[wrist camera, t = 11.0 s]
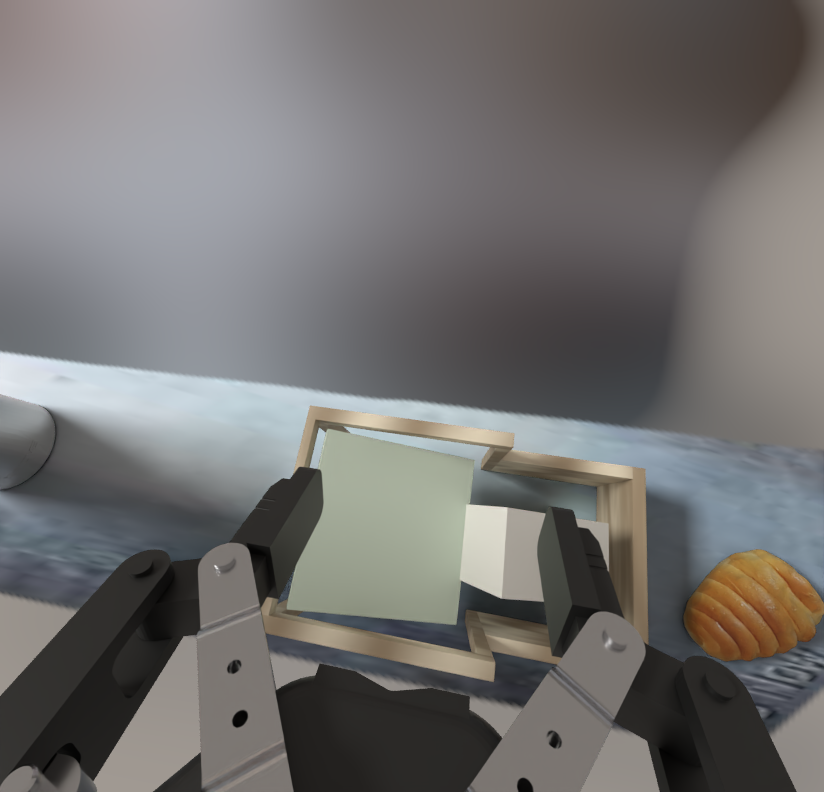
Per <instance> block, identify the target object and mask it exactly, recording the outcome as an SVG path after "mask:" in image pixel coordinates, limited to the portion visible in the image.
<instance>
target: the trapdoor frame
mask: <svg viewBox="0 0 824 792" xmlns="http://www.w3.org/2000/svg"><path fill="white" fill-rule="evenodd" d="M343 426H345V427H352V428H359V429H367V430H374V431H381V432H388V433H395V434H402V435H409V436H416V437H423V438H430V439H437V440H444V441H451V442H458V443H465V444H472V445H479V446H486V447H490V448H489V450H488V451H487V453H486V454H485V456H484V458H483V459H482V464H481V470H488V471H495V472H502V473H508V474H515V475H522V476H528V477H535V478H542V479H549V480H555V481H562V482H569V483H575V484H582V485H589V486H595V487H597V516H596V522H602V523H608V524H609V574H610V577H611V580H612V583H613V586H614V589H615V592H616V595H617V598H618V601H619V604H620V607H621V610H622V613H623V616H624V618H625V620H626V621H628V622H629V623H630V624H631V625H632V626H633V627H634V628H635V629H636V630H637V631H638V633H639V634H640V636H641V637H642V640H643V641H644V642H645V643H646V644H648V591H647V535H646V478H645V469H643V468H636V467H629V466H622V465H615V464H608V463H601V462H594V461H587V460H580V459H573V458H566V457H559V456H552V455H545V454H537V453H530V452H523V451H516V450H511V449H512V448H513V445H514V433H507V432H500V431H492V430H485V429H478V428H470V427H463V426H456V425H448V424H441V423H434V422H427V421H419V420H412V419H405V418H397V417H390V416H383V415H375V414H368V413H361V412H353V411H346V410H339V409H331V408H324V407H317V406H310V408H309V412H308V416H307V420H306V424H305V428H304V432H303V436H302V440H301V445H300V449H299V453H298V457H297V461H296V465H295V469H294V473H295V471H296V470H297V469H298V468H299V467H307V468H309V467H310V463H311V459H312V454H313V450H314V446H315V442H316V437H317V433H318V429H319V428H321V429H322V430H324V431H325V432H326V431H327V429H332V430H337V431H341V432H346V433H350V432H349V431H348V430H346V429H345V428H344V427H343ZM350 434H351V433H350ZM294 473H293V474H294ZM287 601H288V599H287V600H285V601H283V602H281V603H279V604H277V603H278V599H274V598H269V597H267V598H266V600H265V602H264V604H263V605H262V607H261V612H262V617H263V622H264V628H265V633H267V634H272V635H277V636H281V637H286V638H291V639H295V640H300V641H305V642H309V643H314V644H319V645H323V646H328V647H333V648H337V649H342V650H347V651H351V652H356V653H361V654H365V655H370V656H375V657H379V658H384V659H389V660H393V661H398V662H403V663H407V664H412V665H417V666H421V667H426V668H431V669H435V670H440V671H445V672H449V673H454V674H459V675H463V676H468V677H473V678H477V679H482V680H487V681H491V682H494V674H495V660H494V658H493V655H492V652H491V651H493V652H498V653H503V654H508V655H513V656H518V657H523V658H528V659H532V660H537V661H542V662H547V663H552V664H558V663H559V662H560V660H561V659H562V658H560V657H555V656H552V654H551V647H550V640H549V633H548V626H547V625H544V624H539V623H534V622H529V621H524V620H519V619H513V618H508V617H503V616H498V615H493V614H487V613H482V612H477V611H472V610H467V609H466V615H465V624H466V629H467V633H468V638H469V643H470V648H471V652H468V651H463V650H458V649H453V648H448V647H443V646H438V645H434V644H429V643H424V642H419V641H414V640H409V639H405V638H400V637H395V636H390V635H385V634H380V633H375V632H371V631H366V630H361V629H356V628H351V627H346V626H342V625H337V624H332V623H327V622H322V621H317V620H313V619H308V618H303V617H298V616H297V615H299V614H300V613H302V612H303V611H298V610H287Z"/></svg>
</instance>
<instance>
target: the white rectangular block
mask: <svg viewBox="0 0 824 792" xmlns="http://www.w3.org/2000/svg"><path fill="white" fill-rule="evenodd" d="M545 515H546V513H539V512H533V511H527V510H521V509H514V508H508V507H495V506H482V505H468V504H466V515H465V526H464V536H463V547H462V558H461V569H460V579H459V580H461V581H463V582H465V583H468V584H470V585H472V586H474V587H477V588H479V589H481V590H483V591H485V592H488V593H490V594H492V595H494V596H497V597H499V598H501V599H513V600H527V601H541V602H544V599H543V592H542V585H541V578H540V571H539V565H538V557H537V545H538V538H539V535H540V531H541V528H542V525H543V521H544V518H545ZM576 522H577V525H578V527H582V528H588V529H589V530H590V531H591V533H592V534H593V535H594V536H595V538H596V539H597V540H598V541H599V543H600V546H601V550H602V553H603V556H604V559H605V562H606V565H607V568H608V569H607V570H608V571H609V524H608V523H602V522H595V521H589V520H583V519H577V518H576Z"/></svg>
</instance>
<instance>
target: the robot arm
mask: <svg viewBox="0 0 824 792" xmlns="http://www.w3.org/2000/svg"><path fill="white" fill-rule="evenodd" d="M54 440H55V425H54V420H53V418H52V417H51V415H50V413H49V412H48V411H47V410H46V409H45V408H43V407H41V406H39V405H36V404H33V403H29V402H26V401H22V400H19V399H15V398H12V397H8V396H5V395H1V394H0V489H7V488H11V487H14V486H16V485H19V484H21V483H23V482H24V481H26V480H28V479H29V478H30V477H31V476H33V475H34V474H35V473H36V472H37V471H38V470H39V469H40V468H41V467H42V465H43V464H44V463H45V461H46V460H47V458H48V456H49V454H50V452H51V450H52V448H53V444H54ZM323 504H324V499H323V484H322V472H321V470H320V469H314V468H307V467H299V468H298V469H297V470H296V471H295V473H294V474H293V476H292V477H291V479H284V478H283V479H281V480H280V481H278V482H277V483H275V484H274V485H272V486H271V487H270V488H269V490H268V491H267V492H266V494H265V495H264V496H263V498H262V500H260V502H259V503H258V504H257V506H256V509H254V510H253V511H252V513H251V514H250V515H249V517H248V518H247V519H246V521H245V522H244V523H243V525H242V526H241V527H240V529H239V530H238V531H237V533H236V534H235V536H234V537H233V538H232V540H231V541H230V542H229V543H226V544H222V545H220V546H217V547H215V548H213V549H212V550H210V551H209V552H208V553H207V554H206V555H205V556H204V557H203V558H201V559H193V560H184V561H174V562H171V560H170V557H169V555H168V554H167V553H166V552H164V551H162V550H147V551H143V552H140V553H138V554H135V555H133V556H132V557H130V558H128V559H127V560H125V561H124V562H123V563H122V564H121V565H120V566H119V567H118V568H117V569H116V570H115V571H114V572H113V573H112V574H111V576H110V577H109V578H108V579H107V580H106V581H105V582H104V583H103V584H102V585H101V586H100V588H99V589H98V590H97V591H96V592H95V593H94V594H93V595H92V596H91V597H90V598H89V600H88V601H87V602H86V603H85V604H84V605H83V606H82V607H81V608H80V609H79V611H78V612H77V613H76V614H75V615H74V616H73V617H72V618H71V619H70V620H69V621H68V623H67V624H66V625H65V626H64V627H63V628H62V629H61V630H60V631H59V632H58V634H57V635H56V636H55V637H54V638H53V639H52V640H51V641H50V642H49V643H48V645H47V646H46V647H45V648H44V649H43V650H42V651H41V652H40V653H39V654H38V655H37V656H36V658H35V659H34V660H33V661H32V662H31V663H30V664H29V665H28V667H26V669H25V670H24V671H23V672H22V673H21V674H20V675H19V676H18V677H17V678H16V679H15V681H14V682H13V683H12V684H11V685H10V686H9V687H8V688H7V689H6V690H5V691H4V693H3V694H2V695H1V696H0V792H97V788H96V786H95V784H94V782H93V781H94V779H95V777H96V776H97V774H98V773H99V771H100V769H101V768H102V766H103V765H104V763H105V762H106V760H107V758H108V757H109V755H110V753H111V752H112V750H113V749H114V747H115V745H116V744H117V742H118V741H119V739H120V737H121V736H122V734H123V733H124V731H125V729H126V728H127V726H128V725H129V723H130V721H131V720H132V718H133V717H134V715H135V713H136V712H137V710H138V709H139V707H140V705H141V704H142V702H143V701H144V699H145V697H146V696H147V694H148V692H149V691H150V689H151V688H152V686H153V684H154V683H155V681H156V680H157V678H158V676H159V675H160V673H161V672H162V670H163V668H164V667H165V665H166V663H167V662H168V660H169V659H170V657H171V656H172V654H173V652H174V651H175V649H176V647H177V646H178V644H179V643H180V641H181V640H182V638H183V636H189V635H197V659H198V685H199V686H198V687H199V714H200V742H201V752H200V753H199V754H198V755H197V756H196V757H194V758H193V759H192V760H191V761H190V762H189V763H187V764H186V765H185V766H184V767H182V768H181V769H180V770H179V771H178V772H177V773H175V774H174V775H173V776H172V777H170V778H169V779H168V780H167V781H166V782H164V783H163V784H162V785H161V786H160V787H158V788H157V789H156V790H155V791H153V792H580V791H581V789H582V787H583V785H584V783H585V781H586V779H587V777H588V774H589V772H590V770H591V768H592V766H593V764H594V762H595V760H596V758H597V756H598V754H599V752H600V750H601V748H602V746H603V744H604V742H605V740H606V738H607V736H608V734H609V732H610V730H611V728H612V725H613V723H614V722H615V723H617V724H619V725H620V726H622V727H624V728H626V729H627V730H629V731H631V732H633V733H634V734H636V735H638V736H640V737H641V738H643V739H645V740H647V742H648V746H649V750H650V754H651V758H652V762H653V766H654V770H655V774H656V778H657V782H658V786H659V790H660V792H796V790H795V788H794V785H793V783H792V781H791V779H790V777H789V775H788V773H787V771H786V769H785V767H784V765H783V762H782V760H781V758H780V757H779V754H778V752H777V750H776V748H775V746H774V744H773V742H772V740H771V737H770V735H769V733H768V731H767V729H766V727H765V725H764V723H763V721H762V719H761V717H760V714H759V712H758V710H757V708H756V706H755V704H754V702H753V700H752V698H751V696H750V694H749V692H748V690H747V689H746V687H745V686H744V685H743V683H742V682H741V681H740V680H739V679H738V678H737V677H736V676H735V675H734V674H733V673H732V672H731V671H730V670H729V669H727V668H726V667H725V666H723V665H722V664H720V663H718V662H716V661H714V660H712V659H710V658H707V657H703V656H692V657H690V658H688V659H687V660H686V661H685V662H684V663H683V662H681V661H679V660H677V659H675V658H673V657H670V656H668V655H666V654H664V653H662V652H660V651H658V650H656V649H654V648H652V647H651V646H649V645H648V644H646V643H645V642H644V641H643V640H642V637H641V636H640V634H639V633H638V631H637V630H636V629H635V628H634V627H633V626H632V625H631V624H630V623H629V622H628V621H626V620H625V618H624V616H623V613H622V610H621V607H620V604H619V601H618V598H617V595H616V592H615V589H614V586H613V583H612V580H611V577H610V574H609V571H608V570H607V569H608V568H607V565H606V562H605V559H604V556H603V553H602V550H601V546H600V543H599V541H598V540H597V539H596V538H595V536H594V535H593V534H592V533H591V531H590V530H589V529H588V528H582V527H578V525H577V522H576V518H575V514H574V512H573V510H570V509H563V508H557V507H551V506H549V507H548V509H547V511H546V515H545V518H544V521H543V525H542V528H541V531H540V535H539V538H538V545H537V557H538V565H539V571H540V578H541V585H542V592H543V599H544V606H545V613H546V619H547V626H548V633H549V640H550V647H551V654H552V656H555V657H560V658H562V659H561V660H560V662H559V663H558V664H557V666H556V667H555V668H554V667H553V668H552V669H551V670H550V671H549V672H548V674H547V675H546V676H545V678H544V679H543V681H542V682H541V684H540V685H539V686H538V688H537V689H536V691H535V692H534V694H533V695H532V697H531V698H530V699H529V701H528V702H527V704H526V705H525V707H524V708H523V710H522V711H521V712H520V714H519V715H518V717H517V718H516V720H515V721H514V723H513V724H512V725H511V727H510V728H509V730H508V732H507V733H506V734H505V736H504V737H503V738H502V737H501V736H500V735H499V734H498V733H497V732H496V730H495V729H494V728H493V727H492V726H491V725H490V724H488V723H487V722H486V721H485V720H484V719H483V718H481V717H480V716H479V715H477V714H476V713H474V712H472V711H471V710H469V701H470V697H469V696H465V695H460V694H456V693H451V692H447V691H442V690H438V689H433V688H427V689H415V690H403V691H390V690H387V689H386V688H384V687H382V686H380V685H378V684H377V683H375V682H373V681H371V680H370V679H368V678H366V677H364V676H363V675H361V674H359V673H357V672H355V671H351V670H347V669H342V668H338V667H333V666H329V665H324V664H319V667H318V670H317V673H316V676H309V677H305V678H301V679H298V680H295V681H292V682H290V683H288V684H286V685H284V686H282V687H281V688H279V689H278V690H276V686H275V681H274V675H273V670H272V665H271V660H270V654H269V649H268V644H267V638H266V633H265V628H264V622H263V617H262V612H261V607H262V605H263V604H264V602H265V600H266V598H267V597H269V598H274V599H279V597H280V595H281V593H282V592H283V590H284V588H285V586H286V584H287V582H288V580H289V578H290V576H291V574H292V572H293V570H294V568H295V566H296V564H297V562H298V560H299V558H300V556H301V554H302V553H303V551H304V549H305V547H306V545H307V543H308V541H309V539H310V537H311V535H312V533H313V531H314V529H315V527H316V525H317V523H318V521H319V519H320V517H321V514H322V510H323Z"/></svg>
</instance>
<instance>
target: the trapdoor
mask: <svg viewBox="0 0 824 792" xmlns="http://www.w3.org/2000/svg"><path fill="white" fill-rule="evenodd" d="M474 461H475V460H471V459H467V458H462V457H458V456H453V455H448V454H444V453H439V452H434V451H430V450H425V449H420V448H416V447H411V446H406V445H402V444H397V443H392V442H388V441H383V440H378V439H374V438H369V437H364V436H360V435H355V434H350V433H346V432H341V431H337V430H332V429H327V431H326V435H325V439H324V444H323V448H322V452H321V457H320V461H319V466H318V469H320V470H321V472H322V484H323V499H324V504H323V510H322V514H321V517H320V519H319V521H318V523H317V525H316V527H315V529H314V531H313V533H312V535H311V537H310V539H309V541H308V543H307V545H306V547H305V549H304V551H303V553H302V554H301V556H300V558H299V560H298V562H297V564H296V566H295V571H294V575H293V579H292V584H291V588H290V593H289V597H288V601H287V610H298V611H309V612H320V613H331V614H342V615H353V616H364V617H375V618H386V619H397V620H408V621H419V622H430V623H441V624H452V625H456V623H457V614H458V605H459V596H460V587H461V580H459V579H460V569H461V558H462V547H463V536H464V526H465V515H466V504H468V505H470V497H471V488H472V479H473V470H474Z"/></svg>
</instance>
